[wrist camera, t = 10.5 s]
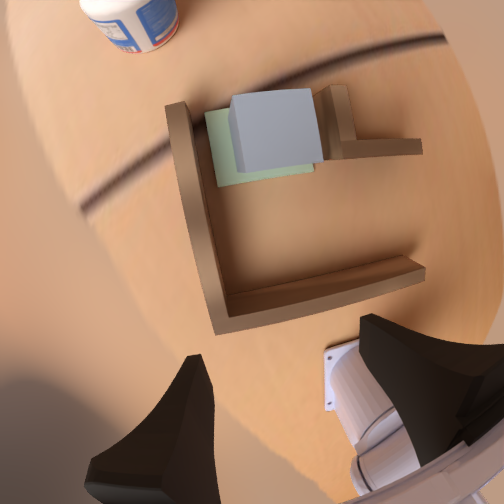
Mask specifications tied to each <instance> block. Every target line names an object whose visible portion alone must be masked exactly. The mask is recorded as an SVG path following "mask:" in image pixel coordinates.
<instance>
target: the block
mask: <svg viewBox="0 0 504 504" xmlns="http://www.w3.org/2000/svg"><path fill="white" fill-rule="evenodd" d="M228 122H229V128H230V133H231V139H232V145H233V150H234V156H235V161H236V167H237V172H238V173H250V172H256V171H263V170H269V169H275V168H282V167H289V166H296V165H304V164H312V163H320V162H324V160H323V154H322V147H321V141H320V135H319V130H318V124H317V118H316V113H315V108H314V103H313V98H312V93H311V88H304V89H287V90H274V91H264V92H255V93H246V94H239V95H232V99H231V104H230V109H229V114H228Z"/></svg>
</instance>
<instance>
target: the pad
mask: <svg viewBox="0 0 504 504" xmlns="http://www.w3.org/2000/svg"><path fill="white" fill-rule="evenodd" d="M229 109H230V108H225V109H220V110H214V111H209V112H204V113H205V119H206V125H207V130H208V136H209V142H210V147H211V153H212V158H213V164H214V169H215V175H216V180H217V185H218V188H219V187H224V186H229V185H234V184H240V183H245V182H251V181H257V180H263V179H269V178H275V177H281V176H288V175H295V174H302V173H309V172H314V169H313V163H312V164H304V165H296V166H289V167H282V168H275V169H269V170H263V171H256V172H250V173H238V172H237V167H236V161H235V156H234V150H233V145H232V139H231V133H230V128H229V122H228V114H229Z"/></svg>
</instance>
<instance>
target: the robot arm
mask: <svg viewBox="0 0 504 504" xmlns="http://www.w3.org/2000/svg"><path fill="white" fill-rule="evenodd" d="M329 356H330V357H329ZM328 357H329V358H328ZM324 385H325V410H326V411H331V410H335V412H336V414H337V416H338V418H339V420H340V422H341V424H342V426H343V428H344V430H345V432H346V435H347V437H348V439H349V441H350V443H351V444H352V446H353V447H354V448H355V450H356V452H357V454H358V455H356V456H355V457H354V458H353V459H352V461H351V468H350V475H351V479H352V482H353V485H354V487H355V489H356V490H357V492H358V494H359V495H360V496H359V497H357V498H354V499H351V500H349V501H346V502H343V503H340V504H489V503H488V502H487V500H486V499H485V497H484V496H483V495H482V493H481V492H480V491H479V490H480V489H481V488H483V487H484V486H485V485H486V484H487V483H489V482H490V481H491V480H492V479H493V478H494V477H495V476H496V475H497V474H498V473H500V472H501V471H502V470H503V469H504V344H495V345H473V344H463V343H456V342H450V341H445V340H441V339H437V338H433V337H430V336H427V335H424V334H421V333H418V332H415V331H413V330H410V329H407V328H405V327H403V326H400V325H398V324H396V323H393V322H391V321H389V320H387V319H384V318H382V317H380V316H377V315H375V314H372V313H371V314H368V315H365V316H362V317H360V333H359V339H357V340H354V341H350V342H347V343H344V344H341V345H337V346H334V347H331V348H328V349H326V350H325V351H324ZM214 408H215V404H214V394H213V386H212V383H211V381H210V378H209V375H208V373H207V370H206V367H205V364H204V361H203V359H202V356H201V354H198V355H191V356H187V357H186V359H185V361H184V362H183V364H182V366H181V368H180V370H179V372H178V373H177V375H176V377H175V378H174V380H173V382H172V383H171V385H170V386H169V388H168V390H167V391H166V392H165V394H164V395H163V397H162V398H161V400H160V401H159V402H158V404H157V405H156V406H155V408H154V409H153V410H152V411H151V412H150V414H149V415H148V416H147V417H146V418H145V419H144V420H143V421H142V422H141V423H140V424H139V425H138V426H137V427H136V428H135V429H134V430H133V431H132V432H130V433H129V434H128V435H127V436H125V437H124V438H123V439H122V440H120V441H119V442H118V443H116V444H115V445H113V446H112V447H111V448H109V449H107V450H106V451H104V452H102V453H100V454H99V455H97V456H95V457H93V458H92V459H91V462H90V464H89V468H88V472H87V475H86V479H85V483H84V487H85V489H86V490H87V492H88V493H89V494H91V495H92V496H93V497H94V498H96V499H97V500H98V501H100V502H101V503H103V504H221V501H220V495H219V489H218V484H217V476H216V468H215V459H214V412H215V409H214Z"/></svg>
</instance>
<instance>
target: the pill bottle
mask: <svg viewBox="0 0 504 504" xmlns="http://www.w3.org/2000/svg"><path fill="white" fill-rule="evenodd" d="M80 6H81V8H82V10H83V11H84V13H85V14H86V15H87V16H88V17H89V18H90V19H91V20H92V21H93V22H94V23H95V24H96V26H97V27H98V28H99V29H100V30H101V31H102V32H103V33H104V34H105V35H106V36H107V37H108V38H109V39H110V41H111V42H112V43H113V44H114V45H115V46H116V47H117V48H118V49H120V50H122V51H124V52H126V53H132V54H140V53H146V52H149V51H152V50H154V49H157V48H159V47H160V46H162V45H163V44H165V43H166V42H167V41H168V40H169V39H170V38H171V37H172V36H173V35H174V33H175V31H176V29H177V27H178V24H179V15H178V10H177V7H176V3H175V0H80Z"/></svg>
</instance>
